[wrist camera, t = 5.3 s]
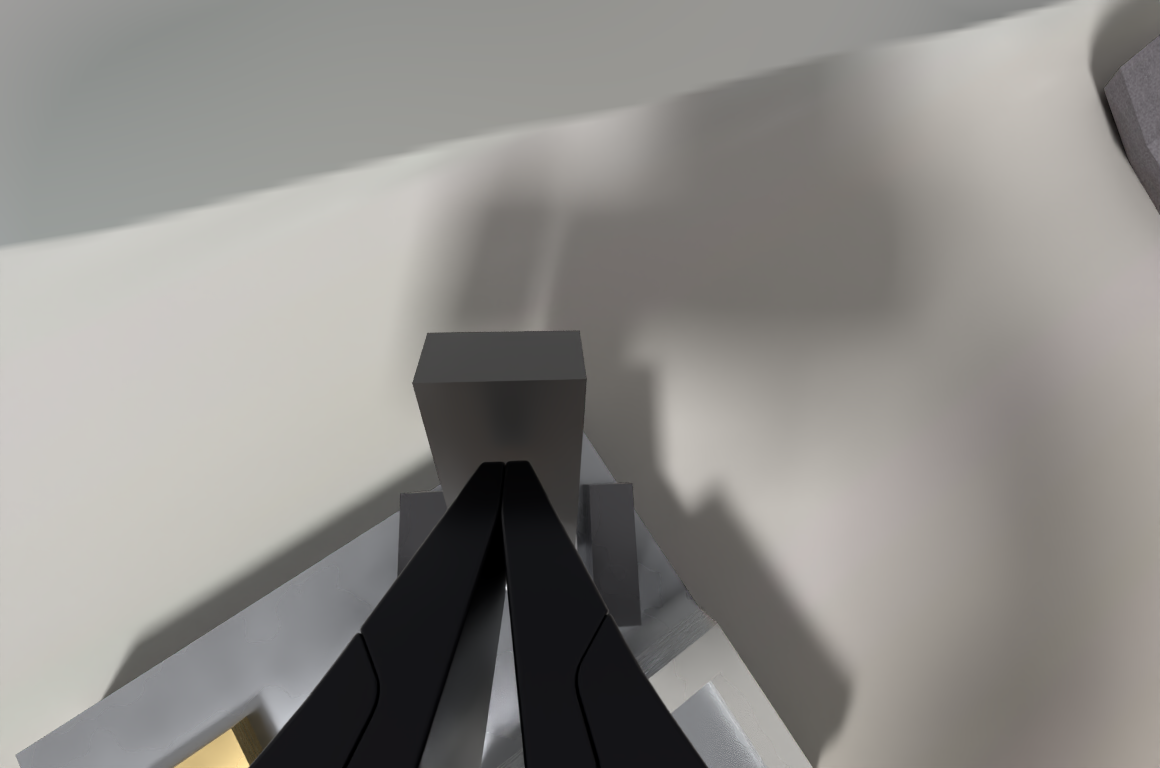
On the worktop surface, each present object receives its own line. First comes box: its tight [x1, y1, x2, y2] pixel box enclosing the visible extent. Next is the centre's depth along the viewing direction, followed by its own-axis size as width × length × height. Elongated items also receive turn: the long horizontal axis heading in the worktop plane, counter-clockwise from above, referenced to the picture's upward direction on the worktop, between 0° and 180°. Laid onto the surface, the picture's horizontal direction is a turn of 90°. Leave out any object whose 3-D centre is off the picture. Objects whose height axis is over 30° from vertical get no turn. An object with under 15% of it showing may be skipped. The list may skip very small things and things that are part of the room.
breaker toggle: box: [412, 331, 587, 590], centre depth 10 cm, size 2×3×8 cm
